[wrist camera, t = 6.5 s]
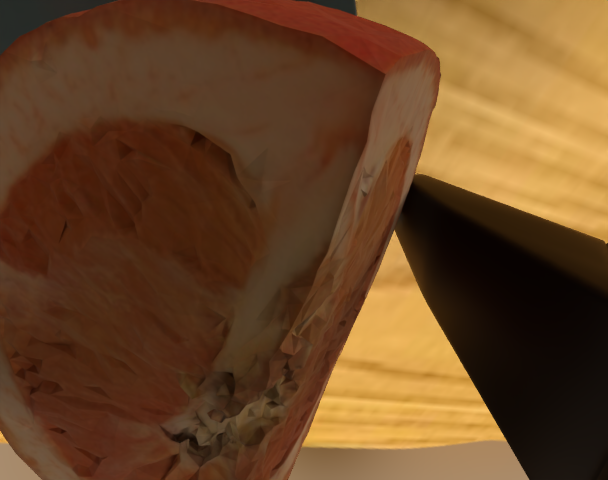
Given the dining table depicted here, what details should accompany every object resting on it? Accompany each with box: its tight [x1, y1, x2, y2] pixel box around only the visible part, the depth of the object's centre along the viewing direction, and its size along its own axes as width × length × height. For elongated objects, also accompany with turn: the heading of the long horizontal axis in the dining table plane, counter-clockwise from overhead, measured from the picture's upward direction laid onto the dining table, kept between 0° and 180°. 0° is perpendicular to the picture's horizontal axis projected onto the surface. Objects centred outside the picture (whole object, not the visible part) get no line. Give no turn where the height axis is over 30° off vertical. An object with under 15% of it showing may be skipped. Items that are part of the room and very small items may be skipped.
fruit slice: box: [0, 0, 441, 480], centre depth 8 cm, size 8×7×5 cm
